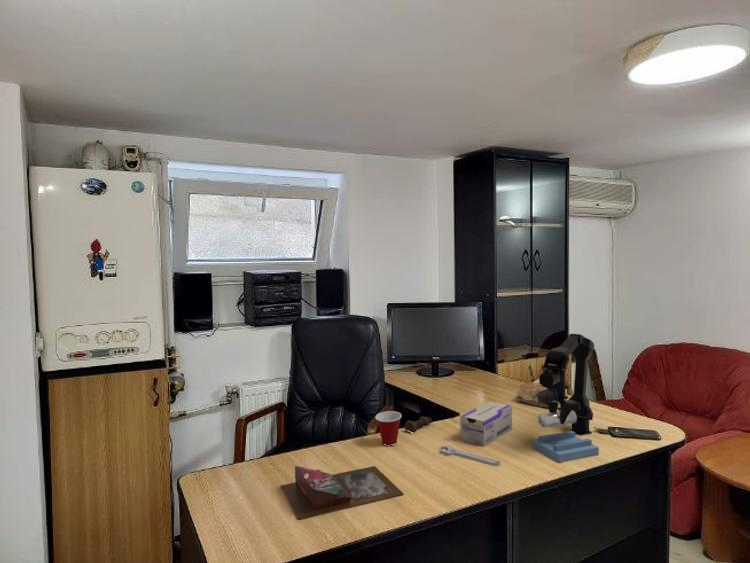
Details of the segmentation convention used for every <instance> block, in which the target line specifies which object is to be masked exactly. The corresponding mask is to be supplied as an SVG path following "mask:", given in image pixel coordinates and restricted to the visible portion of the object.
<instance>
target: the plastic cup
mask: <svg viewBox="0 0 750 563" xmlns="http://www.w3.org/2000/svg"><path fill="white" fill-rule="evenodd" d="M374 418H375V419H376V421H377V422H376V423H377V425H378V429H379V434H380V439H381V443H382V445H383V444H386V445H391V444H395V443H396V444H397V443H398V436H399V429H400V423H401V419H402V414H401V412H398V411H396V410H395V411H394V410H387V411H382V412H379V413H377V414H376V415H375V417H374Z"/></svg>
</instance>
